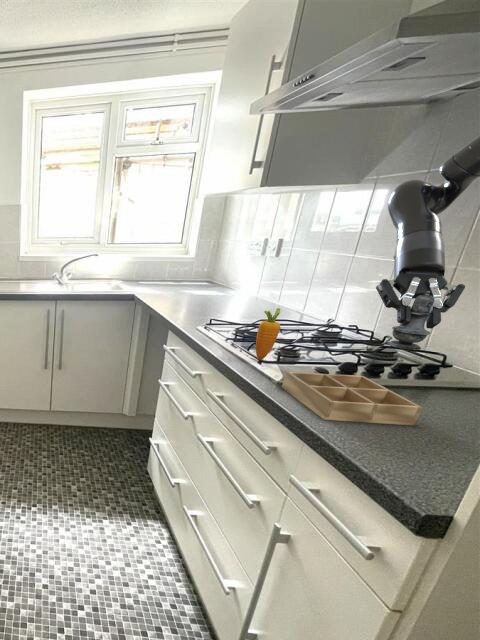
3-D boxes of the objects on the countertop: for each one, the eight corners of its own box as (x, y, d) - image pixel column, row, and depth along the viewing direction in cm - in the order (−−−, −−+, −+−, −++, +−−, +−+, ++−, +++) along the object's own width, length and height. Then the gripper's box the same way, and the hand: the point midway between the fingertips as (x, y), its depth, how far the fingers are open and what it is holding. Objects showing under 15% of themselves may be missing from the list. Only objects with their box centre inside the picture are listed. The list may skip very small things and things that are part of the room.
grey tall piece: (396, 349, 88) (422, 292, 83) (379, 340, 93) (402, 287, 88) (430, 351, 87) (458, 294, 82) (410, 342, 92) (435, 288, 87)
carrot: (253, 363, 116) (269, 310, 110) (246, 357, 120) (261, 305, 114) (273, 364, 115) (290, 311, 109) (264, 358, 120) (280, 306, 114)
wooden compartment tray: (356, 391, 99) (363, 375, 97) (413, 425, 84) (423, 407, 82) (281, 387, 101) (286, 371, 99) (324, 419, 86) (331, 402, 84)
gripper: (386, 244, 91) (384, 311, 86) (476, 248, 85) (479, 320, 80) (368, 266, 97) (365, 329, 92) (450, 270, 92) (452, 338, 87)
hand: (418, 324), depth 86 cm, fingers closed on grey tall piece, 3 cm apart
